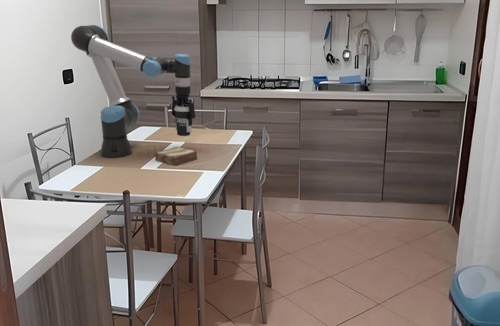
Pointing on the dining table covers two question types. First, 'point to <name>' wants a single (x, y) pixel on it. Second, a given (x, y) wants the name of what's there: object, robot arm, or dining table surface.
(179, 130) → the coffee cup
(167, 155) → the pedestal
